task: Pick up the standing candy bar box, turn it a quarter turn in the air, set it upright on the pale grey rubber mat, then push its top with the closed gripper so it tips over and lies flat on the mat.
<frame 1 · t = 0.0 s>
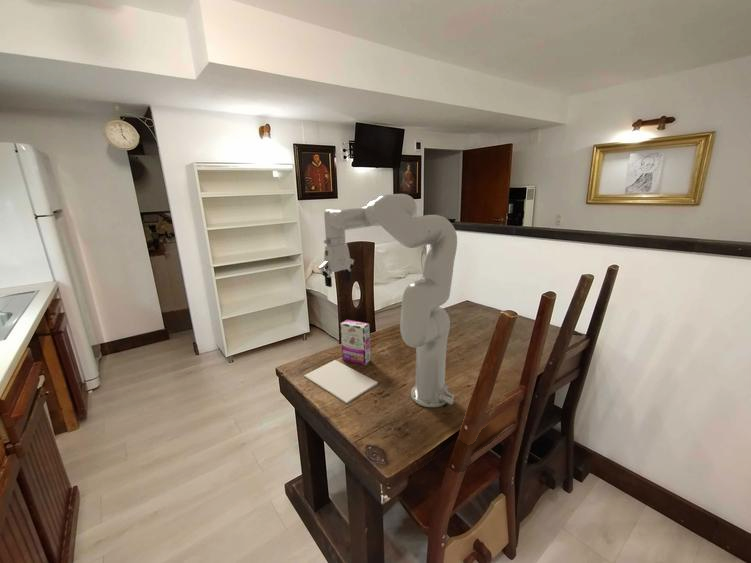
hand: (338, 283, 131), 31 cm above the table, tool pointing down, fingers open, 9 cm apart
mat: (340, 380, 120), on the table
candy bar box: (356, 360, 134), on the table
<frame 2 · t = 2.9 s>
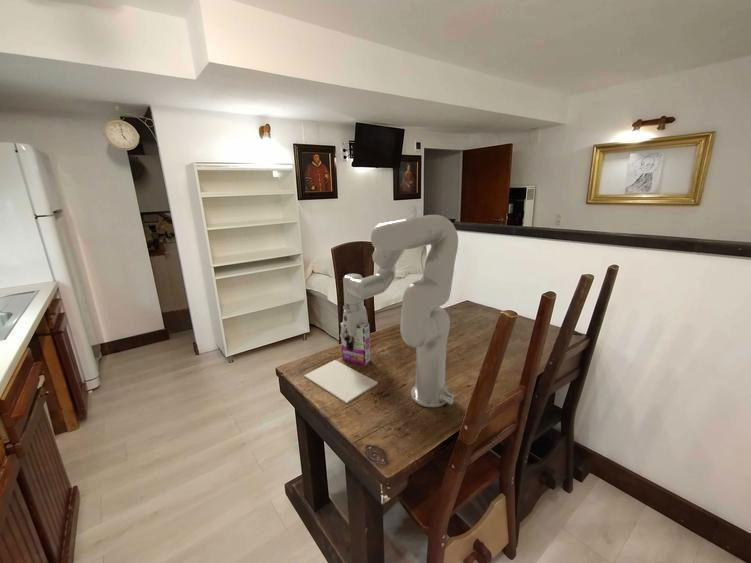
hand: (355, 346, 132), 6 cm above the table, tool pointing down, fingers closed on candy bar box, 6 cm apart
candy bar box: (356, 360, 134), on the table, touching gripper
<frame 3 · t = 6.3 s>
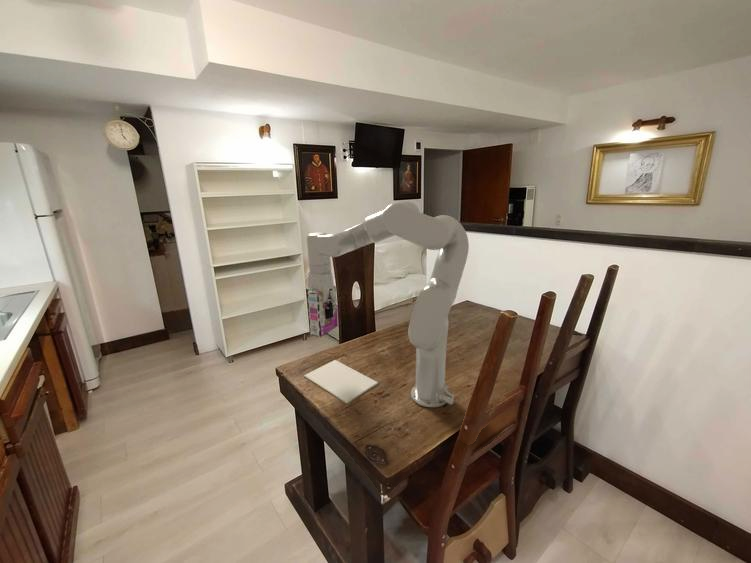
hand: (323, 315, 119), 23 cm above the table, tool pointing down, fingers closed on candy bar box, 5 cm apart
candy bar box: (325, 331, 121), point 17 cm above the table, touching gripper
when the fingers open (7 cm above the table, at t = 9.9 s): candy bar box stays where it is, resting on mat.
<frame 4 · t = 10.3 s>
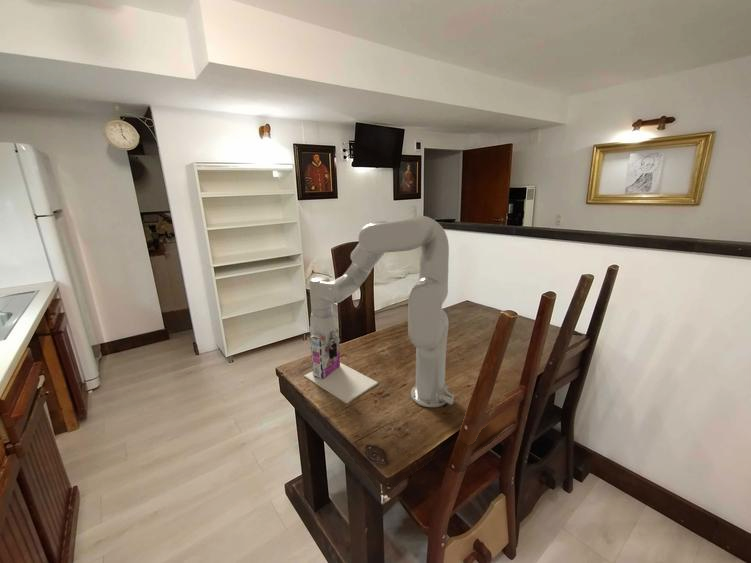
hand: (325, 353, 123), 8 cm above the table, tool pointing down, fingers open, 9 cm apart
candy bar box: (327, 371, 125), resting on mat
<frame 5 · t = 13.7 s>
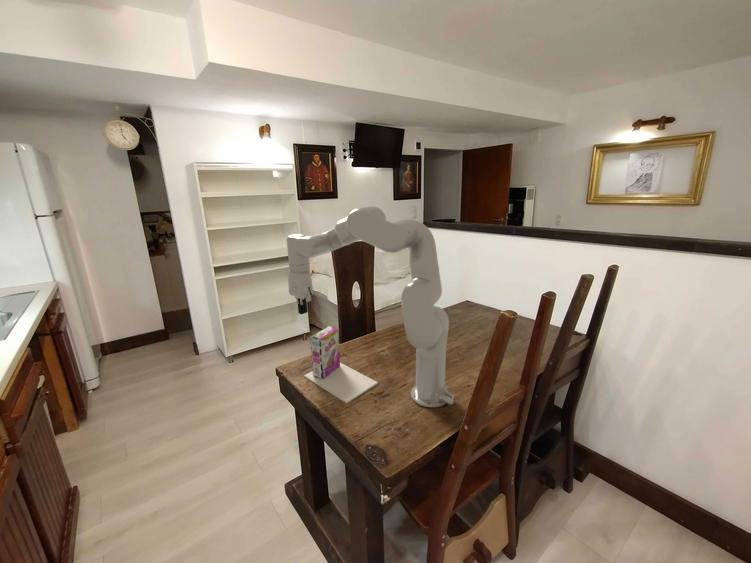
hand: (303, 312, 127), 21 cm above the table, tool pointing down, fingers closed
nothing on the table moved.
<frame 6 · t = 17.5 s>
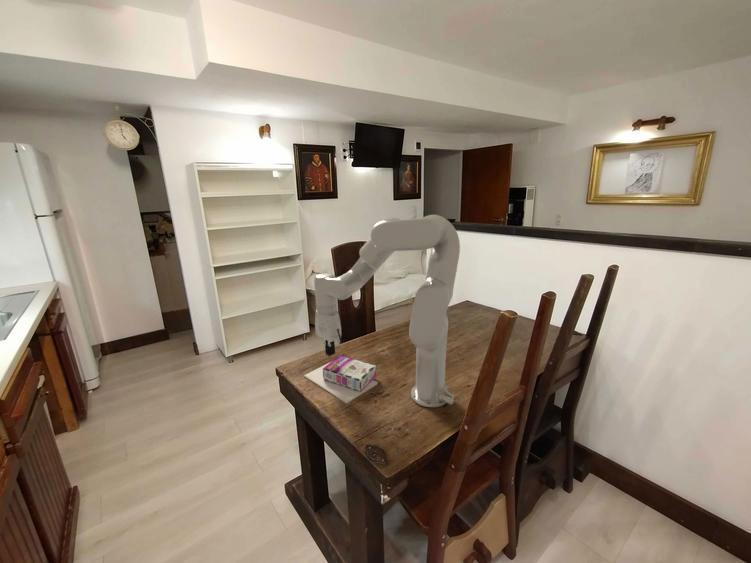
hand: (330, 354, 121), 9 cm above the table, tool pointing down, fingers closed
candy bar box: (331, 367, 123), point 3 cm above the table, touching mat
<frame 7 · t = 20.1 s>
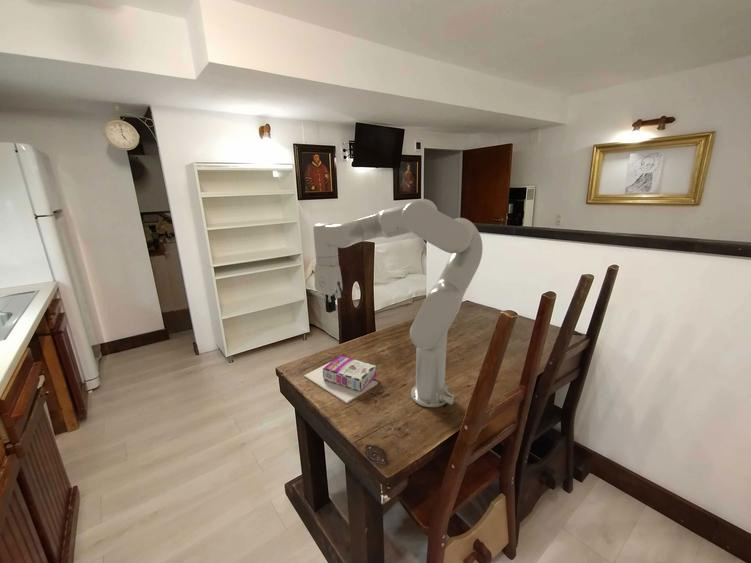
hand: (331, 311, 114), 27 cm above the table, tool pointing down, fingers closed
nothing on the table moved.
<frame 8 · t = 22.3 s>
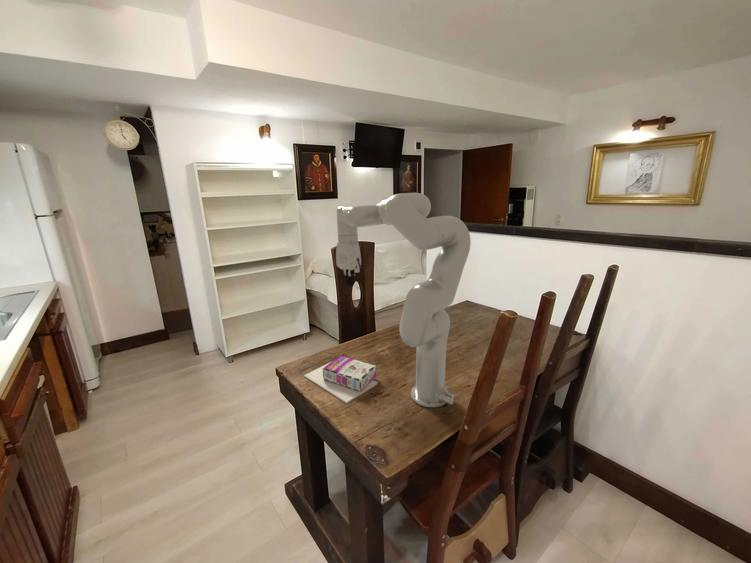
hand: (350, 284, 129), 31 cm above the table, tool pointing down, fingers closed
nothing on the table moved.
at the end: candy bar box inside the target area on the mat (1.7 cm from its centre), point 3.0 cm above the mat's base; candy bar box tilted 89°; the gripper is holding nothing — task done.
